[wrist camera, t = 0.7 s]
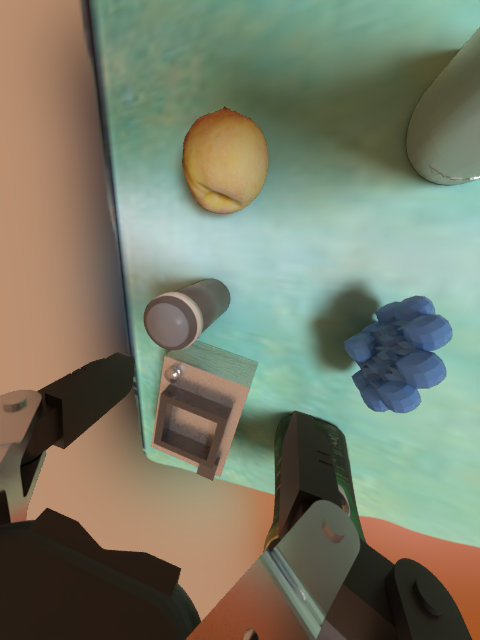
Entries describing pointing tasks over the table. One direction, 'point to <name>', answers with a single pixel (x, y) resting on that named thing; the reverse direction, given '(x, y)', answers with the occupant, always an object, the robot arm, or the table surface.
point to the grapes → (399, 354)
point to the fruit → (225, 161)
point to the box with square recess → (201, 405)
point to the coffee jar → (328, 634)
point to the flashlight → (185, 313)
